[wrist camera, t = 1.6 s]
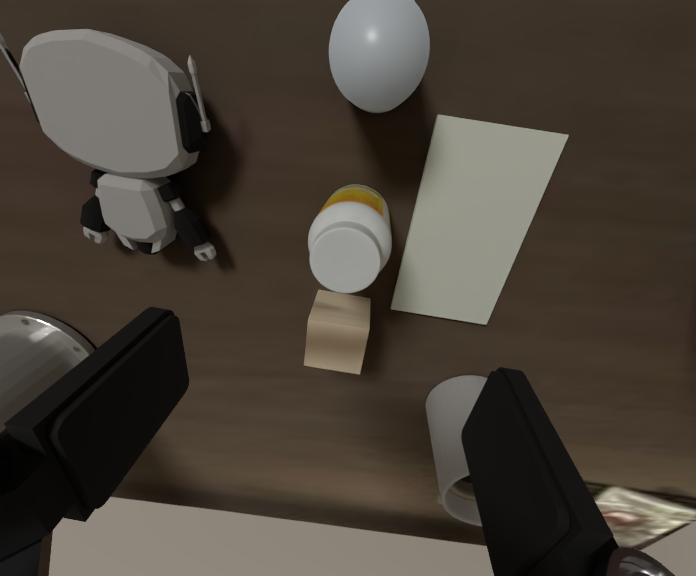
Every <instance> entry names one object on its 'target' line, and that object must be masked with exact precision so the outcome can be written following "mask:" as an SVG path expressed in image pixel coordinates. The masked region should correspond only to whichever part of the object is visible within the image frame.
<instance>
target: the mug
mask: <svg viewBox="0 0 696 576" xmlns="http://www.w3.org/2000/svg"><path fill="white" fill-rule="evenodd" d="M486 380H487V378H486V377H482V376H475V375H465V376H458V377H454V378H450V379H448V380H446V381H443V382H442V383H440V384H438V385H437V386H436V387H435V388H434V389H433V390H432V391H431V392H430V394H429V395H428V397H427V400H426V413H427V419H428V425H429V432H430V438H431V444H432V450H433V456H434V462H435V468H436V474H437V480H438V486H439V492H440V498H441V502H442V505H443V507H444V508H445V510H446V511H447V512H448V513H449V514H450V515H452V516H453V517H455V518H456V519H458V520H460V521H463V522H466V523H469V524H473V525H478V526H482V524H481V519H480V515H479V511H478V507H477V503H476V499H475V495H474V490H473V486H472V482H471V478H470V474H469V470H468V466H467V462H466V457H465V453H464V449H463V445H462V440H461V433H462V429H463V427H464V425H465V423H466V421H467V419H468V417H469V415H470V413H471V411H472V409H473V407H474V405H475V403H476V401H477V399H478V397H479V395H480V392H481V390H482V388H483V386H484V384H485V382H486Z"/></svg>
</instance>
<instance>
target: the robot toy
mask: <svg viewBox="0 0 696 576" xmlns="http://www.w3.org/2000/svg"><path fill="white" fill-rule="evenodd" d="M4 41H5V40H4V38H3V36H2V34H1V33H0V48H1V50H2V51H3V53H4V55H5V56H6V58H7V60H8V61H9V63H10V65H11V66H12V68H13V70H14V71H15V73H16V75H17V77H18V78H19V80H20V82H21V83H22V85H23V87H24V88H25V90H26V92H25V93H24V94H25V95H26V97H27V99H28V100H29V102H30V103H31V106H32V108H33V111H34V114H35V116H36V119H37V121H38V122H39V123H40V124H41V127H42V129H43V132H44V133H45V134H46V135H47V136H48V137H49V138H50V139H51V140H52V141H53V142H54V143H55V144H56V145H57V146H58V147H59V148H61V149H62V150H63V151H65V152H66V153H67V154H69V155H70V156H71V157H73V158H74V159H76V160H78V161H80V162H82V163H84V164H86V165H89V166H91V167H93V168H96V169H95V170H94V171H92V174H91V181H90V183H91V184H92V185H93V186H94V187H96V194H95V196H93V197H92V198H91V199H90V200H89V201H87V202H86V203H85V204H84V205H83V207H82V214H81V222H80V223H81V224H82V225H83V226H84V228H83V230H84V235H85V236H86V237H87V238H89V239H91V240H92V239H93V238H95V242H97V243H105V241H106V239H107V237H108V233H107V231H109V230H110V229H112V230H114V231H115V232H116V234H117V235H118V237H119V238H120V240H121V241H122V243H123V244H124V245H125V246H127V247H129V248H131V249H132V250H136V249H137V248H139V250H140V251H141V252H143V253H145V254H150V255H153V254H156V253H158V252H159V251H160V250H161V249H162V248H164V247H165V246H167V245H168V244H169V243H171V242H172V241H174V240H175V238H176V234H177V233H178V234H179V236H180V237H181V239H182V241H183V242H184V244H185V245H186V247H187V248H188V247H193V246H194V252H195V255H196V256H197V257H198V258H199V259H200V260H202V261H207V260H208V259H210V260H211V259H213V258H215V256H216V250H215V247H214V246H213V245H212V244H211V243H209V242H208V241H207V240H208V239H209V238H210V237H211V234H210V232H209V231H208V229H207V227H206V225H205V223H204V222H203V220H202V218H201V217H200V216H198V215H197V214H196V213H194V212H193V211H191V210H189V209H188V208H186V207H185V206H184V204H183V202H182V201H181V199H180V197H181V196H182V194H183V192H182V190H181V188H180V187H179V185H178V183H177V181H176V180H175V181H172V182H171V181H170V180H169V179H168V178H166V176H169V175H172V174H175V173H177V172H180V171H182V170H185V169H187V168H188V167H190V166H191V165H193V164H194V163H196V161H197V157H198V154H199V151H201V150H204V149H205V144H206V140H207V132H209V131H210V130H211V126H210V122H209V120H208V119H207V118H206V114H205V109H204V105H203V100H202V96H201V91H200V87H199V82H198V78H197V68H196V64H195V61H194V60H193V59H192V57H191V56H190V55H189V59H188V67H189V71H190V73H191V75H192V79H193V84H194V88H195V92H196V93H194V91H193V89H192V87H191V85H190V83H189V81H188V79H187V77H186V75H185V73H184V72H183V71H182V70H181V69H180V68H179V67H178V66H177V65H176V64H174V63H173V62H172V61H171V60H170V59H169V58H167V57H166V56H164V55H162V54H161V53H159V52H157V51H155V50H153V49H151V48H149V47H147V46H145V45H142V44H139V43H136V42H133V41H131V40H128V39H125V38H122V37H119V36H116V35H113V34H110V33H105V32H100V31H95V30H90V29H77V30H55V31H51V32H47V33H43V34H39V35H37V36H35V37H33V38H32V39H31V40H30V42H29V43H28V44H27V45H26V46H25V47H24V49H23V54H22V58H21V63H20V68H19V66H18V65H17V63H16V61H15V59H14V58H13V56H12V54H11V53H10V51H9V49H8V47H7V46H6V44H5V42H4Z"/></svg>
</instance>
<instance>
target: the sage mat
mask: <svg viewBox="0 0 696 576" xmlns="http://www.w3.org/2000/svg"><path fill="white" fill-rule="evenodd" d="M568 136H569V135H565V134H559V133H552V132H546V131H540V130H533V129H527V128H520V127H514V126H508V125H501V124H495V123H488V122H482V121H476V120H469V119H463V118H456V117H450V116H443V115H437V117H436V121H435V125H434V129H433V133H432V137H431V141H430V146H429V150H428V154H427V158H426V162H425V166H424V170H423V175H422V179H421V183H420V187H419V191H418V195H417V199H416V204H415V208H414V212H413V216H412V220H411V224H410V228H409V233H408V237H407V241H406V245H405V249H404V253H403V257H402V261H401V266H400V270H399V274H398V278H397V282H396V286H395V290H394V295H393V299H392V303H391V309H392V310H399V311H405V312H411V313H417V314H423V315H429V316H435V317H441V318H448V319H454V320H460V321H466V322H472V323H478V324H484V325H486V324H487V322H488V320H489V318H490V315H491V313H492V311H493V308H494V306H495V304H496V301H497V299H498V297H499V295H500V292H501V290H502V288H503V285H504V283H505V281H506V278H507V276H508V274H509V272H510V269H511V267H512V265H513V262H514V260H515V258H516V256H517V253H518V251H519V249H520V246H521V244H522V242H523V239H524V237H525V235H526V233H527V230H528V228H529V226H530V223H531V221H532V219H533V217H534V214H535V212H536V210H537V207H538V205H539V203H540V200H541V198H542V196H543V194H544V191H545V189H546V187H547V184H548V182H549V180H550V177H551V175H552V173H553V171H554V168H555V166H556V164H557V161H558V159H559V157H560V155H561V152H562V150H563V148H564V145H565V143H566V141H567V138H568Z"/></svg>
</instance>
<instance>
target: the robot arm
mask: <svg viewBox="0 0 696 576" xmlns="http://www.w3.org/2000/svg"><path fill="white" fill-rule="evenodd" d="M188 385H189V377H188V371H187V365H186V359H185V352H184V346H183V340H182V334H181V328H180V322H179V318H178V317H177V316H175V315H174V313H173V311H171V310H167V309H161V308H155V307H149V308H148V309H146V310H145V311H143V312H142V313H141V314H140V315H138V316H137V317H136V318H135V319H134V320H132V321H131V322H130V323H129V324H127V325H126V326H125V327H124V328H122V329H121V330H120V331H119V332H117V333H116V334H115V335H114V336H112V337H111V338H110V339H109V340H107V341H106V342H105V343H104V344H102V345H101V346H100V347H99V348H97V349H96V350H95V349H94V348H93V347H92V345H91V344H90V343H89V342H88V341H87V340H86V339H85V338H84V337H83V336H81V335H80V334H79V333H78V332H76V331H75V330H74V329H72V328H71V327H69V326H67V325H66V324H64V323H62V322H60V321H58V320H56V319H54V318H52V317H49V316H46V315H43V314H40V313H35V312H30V311H13V312H8V313H6V314H4V315H2V316H0V576H48V575H49V564H50V554H51V542H52V531H53V529H54V528H55V527H56V525H57V524H58V523H59V522H60V520H61V519H62V518H63V517H64V518H68V519H73V520H78V521H84V522H86V520H87V519H88V518H89V516H90V515H91V514H92V512H93V511H94V509H98V508H100V507H102V506H103V505H104V504H105V503H106V501H107V500H108V499H109V498H110V496H111V495H112V493H113V492H114V491H115V489H116V488H117V486H118V485H119V484H120V482H121V481H122V480H123V478H124V477H125V475H126V474H127V473H128V471H129V470H130V468H131V467H132V466H133V464H134V463H135V462H136V460H137V459H138V457H139V456H140V455H141V453H142V452H143V450H144V449H145V448H146V446H147V445H148V444H149V442H150V441H151V439H152V438H153V437H154V435H155V434H156V432H157V431H158V430H159V428H160V427H161V426H162V424H163V423H164V421H165V420H166V419H167V417H168V416H169V414H170V413H171V412H172V410H173V409H174V408H175V406H176V405H177V403H178V402H179V401H180V399H181V398H182V397H183V395H184V394H185V392H186V391H187V388H188ZM461 440H462V445H463V449H464V453H465V457H466V462H467V466H468V470H469V474H470V478H471V482H472V486H473V490H474V495H475V499H476V503H477V507H478V511H479V515H480V519H481V524H482V528H483V532H484V536H485V540H486V544H487V548H488V552H489V556H490V561H491V565H492V569H493V573H494V576H675V575H674V574H673V573H671V572H670V571H669V570H668V569H667V568H666V567H665V566H663V565H662V564H661V563H660V562H658V561H657V560H655V559H654V558H652V557H651V556H649V555H647V554H646V553H644V552H641V551H639V550H636V549H634V548H629V547H620V548H619V547H618V545H617V543H616V541H615V539H614V538H613V534H612V532H611V530H610V528H609V527H608V525H607V523H606V521H605V519H604V517H603V516H602V514H601V512H600V510H599V508H598V507H597V505H596V503H595V501H594V499H593V498H592V496H591V494H590V492H589V490H588V488H587V487H586V485H585V483H584V481H583V479H582V478H581V476H580V474H579V472H578V470H577V469H576V467H575V465H574V463H573V461H572V459H571V458H570V456H569V454H568V452H567V450H566V449H565V447H564V445H563V443H562V441H561V439H560V438H559V436H558V434H557V432H556V430H555V429H554V427H553V425H552V423H551V421H550V420H549V418H548V416H547V414H546V412H545V410H544V409H543V407H542V405H541V403H540V401H539V400H538V398H537V396H536V394H535V392H534V391H533V389H532V387H531V385H530V383H529V381H528V380H527V378H526V376H525V374H524V373H523V372H522V371H520V370H514V369H508V368H503V367H500V368H498V369H497V370H496V371H492V372H491V373H490V374H489V376H488V378H487V380H486V382H485V384H484V386H483V388H482V390H481V392H480V395H479V397H478V399H477V401H476V403H475V405H474V407H473V409H472V411H471V413H470V415H469V417H468V419H467V421H466V423H465V425H464V427H463V429H462V433H461Z"/></svg>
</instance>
